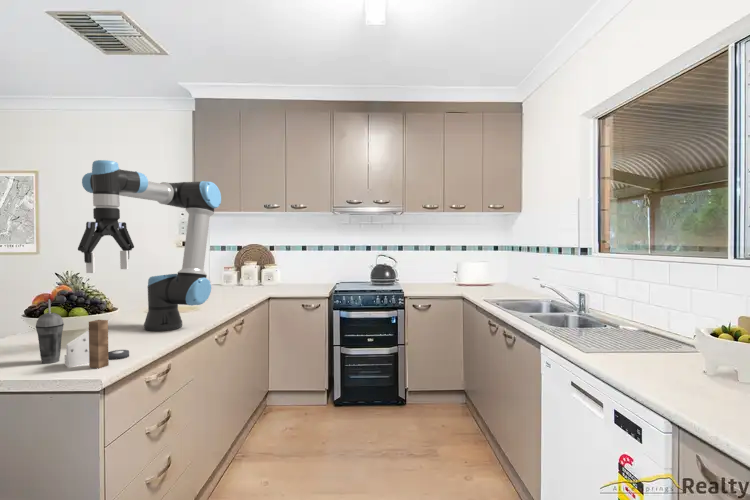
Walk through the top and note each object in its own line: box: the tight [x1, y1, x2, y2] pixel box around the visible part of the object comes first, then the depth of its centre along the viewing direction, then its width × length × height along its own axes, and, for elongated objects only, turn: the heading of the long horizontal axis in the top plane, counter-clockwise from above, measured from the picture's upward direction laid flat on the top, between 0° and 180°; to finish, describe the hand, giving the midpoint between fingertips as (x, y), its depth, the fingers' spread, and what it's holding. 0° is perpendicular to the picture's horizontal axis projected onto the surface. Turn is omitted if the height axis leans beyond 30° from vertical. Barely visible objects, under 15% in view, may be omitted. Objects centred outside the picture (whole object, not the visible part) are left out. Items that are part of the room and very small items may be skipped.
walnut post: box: [88, 319, 110, 370], centre depth 133 cm, size 4×4×14 cm
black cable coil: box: [108, 349, 130, 361], centre depth 144 cm, size 6×6×2 cm
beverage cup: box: [35, 298, 65, 365], centre depth 138 cm, size 7×7×20 cm
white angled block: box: [64, 330, 89, 368], centre depth 136 cm, size 4×10×9 cm
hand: (108, 271), depth 147 cm, fingers open, 13 cm apart
